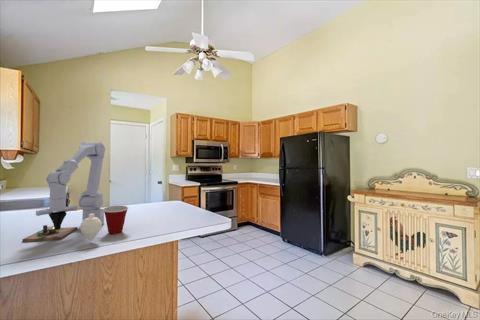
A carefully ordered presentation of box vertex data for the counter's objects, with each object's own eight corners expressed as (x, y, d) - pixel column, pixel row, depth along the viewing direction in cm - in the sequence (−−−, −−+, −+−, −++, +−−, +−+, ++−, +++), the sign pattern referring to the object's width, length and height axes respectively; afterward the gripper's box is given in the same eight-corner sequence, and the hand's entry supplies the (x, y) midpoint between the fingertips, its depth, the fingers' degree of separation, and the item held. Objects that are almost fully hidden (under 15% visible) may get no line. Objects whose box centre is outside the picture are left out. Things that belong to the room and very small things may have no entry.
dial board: (77, 229, 115) (77, 223, 115) (61, 239, 100) (61, 233, 100) (44, 231, 112) (44, 225, 112) (22, 242, 96) (22, 235, 96)
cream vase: (98, 245, 94) (99, 215, 94) (76, 246, 92) (77, 216, 92) (103, 239, 101) (104, 211, 102) (83, 240, 99) (84, 212, 99)
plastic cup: (101, 237, 103) (102, 210, 104) (102, 231, 113) (103, 206, 113) (128, 234, 108) (128, 208, 109) (127, 228, 118) (128, 204, 118)
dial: (48, 227, 108) (48, 220, 108) (63, 226, 109) (63, 220, 109) (35, 233, 99) (36, 226, 99) (52, 232, 100) (52, 225, 100)
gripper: (73, 195, 111) (72, 224, 110) (33, 199, 99) (32, 231, 99) (79, 197, 107) (78, 226, 106) (39, 201, 95) (38, 234, 94)
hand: (57, 229), depth 102 cm, fingers closed
